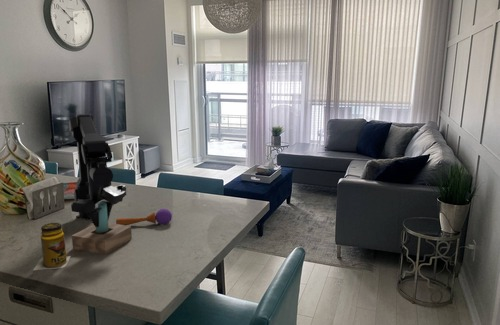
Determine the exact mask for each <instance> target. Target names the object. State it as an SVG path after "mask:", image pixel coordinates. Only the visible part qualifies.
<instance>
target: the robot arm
mask: <svg viewBox="0 0 500 325" xmlns="http://www.w3.org/2000/svg"><path fill="white" fill-rule="evenodd" d="M68 128H69V132H71V135H72V137H73V139H74V140H75V141H76V145H77V158H78V160H77V161H78V172H79V178H78V180H77V181H76V183H75V189H74V192H73V193H74V194H73V197H74V202H72V203H71V205H70V206H71V212H73V213H78V215H77V216H76V218H77V219H83V220H90V221H91V222H92V224H93V225H95V227H99V211H100V210H101V209H102V208H98V203H100V202H105V203H107V215H108V220H109V219H110V215H111V213H112V212H111V211H112V208H113V206H115V205H116V204H118V203H120V202H121V203H122V202H123V198H124V197H126V196H127V186H126V185H124V184H119V185H118V186H117V185H116V186H113V185H112V181H113V180H114V173H113V171H112V170H111V168H110V167H108V165H107V163H111V162H112V159H113V153H112V150H111V146H110V145H109V143H108V141H107V142H106V140H105V138H104V136H102V135H100V134H98V131H97V129H96V128H97V127H96V118H95V117H93V114H91V113H82V114H81V113H79V114H76V116H74V117H72V118H70V119H69V122H68Z"/></svg>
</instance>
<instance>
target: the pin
mask: <svg viewBox="0 0 500 325" xmlns="http://www.w3.org/2000/svg"><path fill="white" fill-rule="evenodd" d="M98 208H102V209H101V210H100V211H99V227H95V229H96V232H99V233H101V232H106V231H108V230H109V227H108V223H109V219H108V215H107V203H105V202H100V203H98Z"/></svg>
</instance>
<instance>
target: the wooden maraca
mask: <svg viewBox="0 0 500 325" xmlns="http://www.w3.org/2000/svg"><path fill="white" fill-rule="evenodd" d="M172 218H173V214H172V212H171V211H170V210H169V209H166V208H160V209H159V210H157V212H156V213H155V212H152V213H151V214H149V215H148V216H146V217H128V218H127V217H125V218H123V217H122V218H115V224H119V225H126V226H131V225H132V224H137V223H140V222H150V223H153V224H157V223H158V224H159V225H163V226H164V225H167V224H169V223H171V221H172ZM156 222H157V223H156Z"/></svg>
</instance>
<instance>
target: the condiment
mask: <svg viewBox="0 0 500 325" xmlns="http://www.w3.org/2000/svg"><path fill="white" fill-rule="evenodd" d="M62 228H63V227H62V224H61V223H60V222H50V223H46V224H44V225H42V226H41V228H40V230H41V235H40V241H41V242H40V243H41V250H42V257H41V258H39V261H38V262H37V264H36V265H35V267H34V268H33V271H40V270H41V271H42V270H54V269H55V270H56V269H63V268H66V266H67V264H68V263H69V260H70V259H71V255H69V256H67V250H66V240H65V233H64V232H63V229H62Z"/></svg>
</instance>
